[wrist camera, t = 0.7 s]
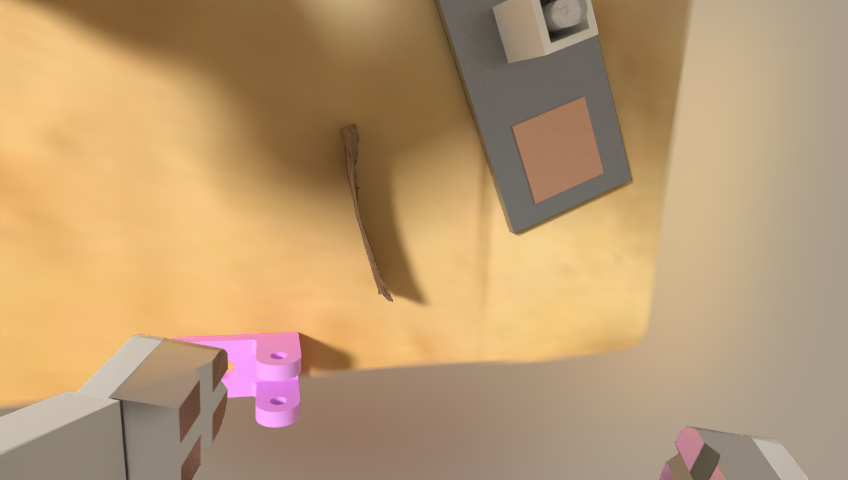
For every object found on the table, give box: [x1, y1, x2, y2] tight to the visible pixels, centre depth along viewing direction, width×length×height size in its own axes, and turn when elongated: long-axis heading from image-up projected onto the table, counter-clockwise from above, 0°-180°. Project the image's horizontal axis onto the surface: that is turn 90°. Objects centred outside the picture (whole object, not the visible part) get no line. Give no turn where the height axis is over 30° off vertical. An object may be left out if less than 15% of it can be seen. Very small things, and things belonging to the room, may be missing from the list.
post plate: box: [435, 0, 631, 233], centre depth 46 cm, size 24×14×10 cm, turn 21°
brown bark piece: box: [340, 124, 393, 302], centre depth 47 cm, size 15×2×5 cm, turn 12°
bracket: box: [172, 332, 301, 427], centre depth 45 cm, size 13×6×7 cm, turn 86°
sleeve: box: [492, 0, 599, 63], centre depth 45 cm, size 5×5×7 cm
